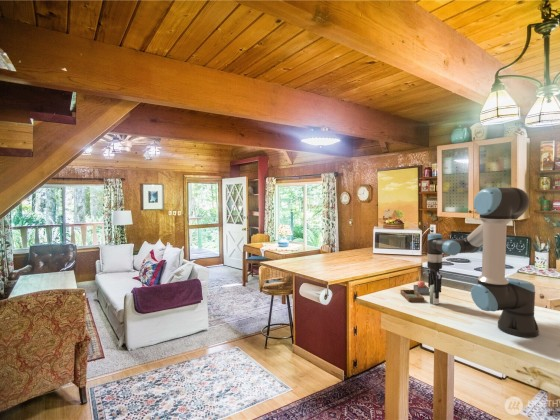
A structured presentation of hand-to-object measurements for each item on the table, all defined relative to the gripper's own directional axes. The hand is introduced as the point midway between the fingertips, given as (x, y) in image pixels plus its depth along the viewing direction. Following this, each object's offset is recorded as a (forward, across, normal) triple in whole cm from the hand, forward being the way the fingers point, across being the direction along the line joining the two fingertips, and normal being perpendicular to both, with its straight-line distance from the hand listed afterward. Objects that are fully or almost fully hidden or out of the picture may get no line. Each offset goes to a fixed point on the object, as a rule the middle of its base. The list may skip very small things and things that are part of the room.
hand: (434, 302), depth 186 cm
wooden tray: (+1, +10, +9) cm, 14 cm away
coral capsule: (0, +20, 0) cm, 20 cm away
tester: (+1, +20, 0) cm, 20 cm away
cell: (+1, 0, 0) cm, 1 cm away
